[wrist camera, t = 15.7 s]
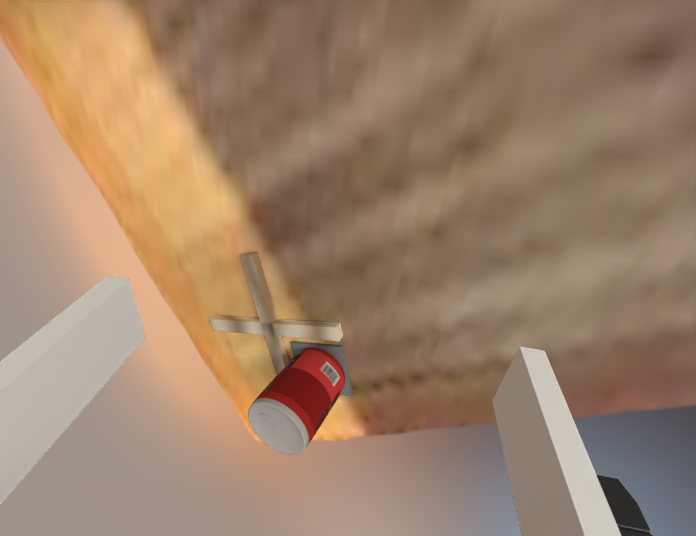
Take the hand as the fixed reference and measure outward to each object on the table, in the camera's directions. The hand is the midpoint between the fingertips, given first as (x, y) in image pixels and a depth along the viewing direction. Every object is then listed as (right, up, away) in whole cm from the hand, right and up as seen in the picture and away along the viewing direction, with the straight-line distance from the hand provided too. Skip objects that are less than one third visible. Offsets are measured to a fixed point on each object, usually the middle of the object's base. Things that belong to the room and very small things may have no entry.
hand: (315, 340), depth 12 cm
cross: (-9, -6, +39) cm, 40 cm away
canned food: (-2, -11, +38) cm, 40 cm away
